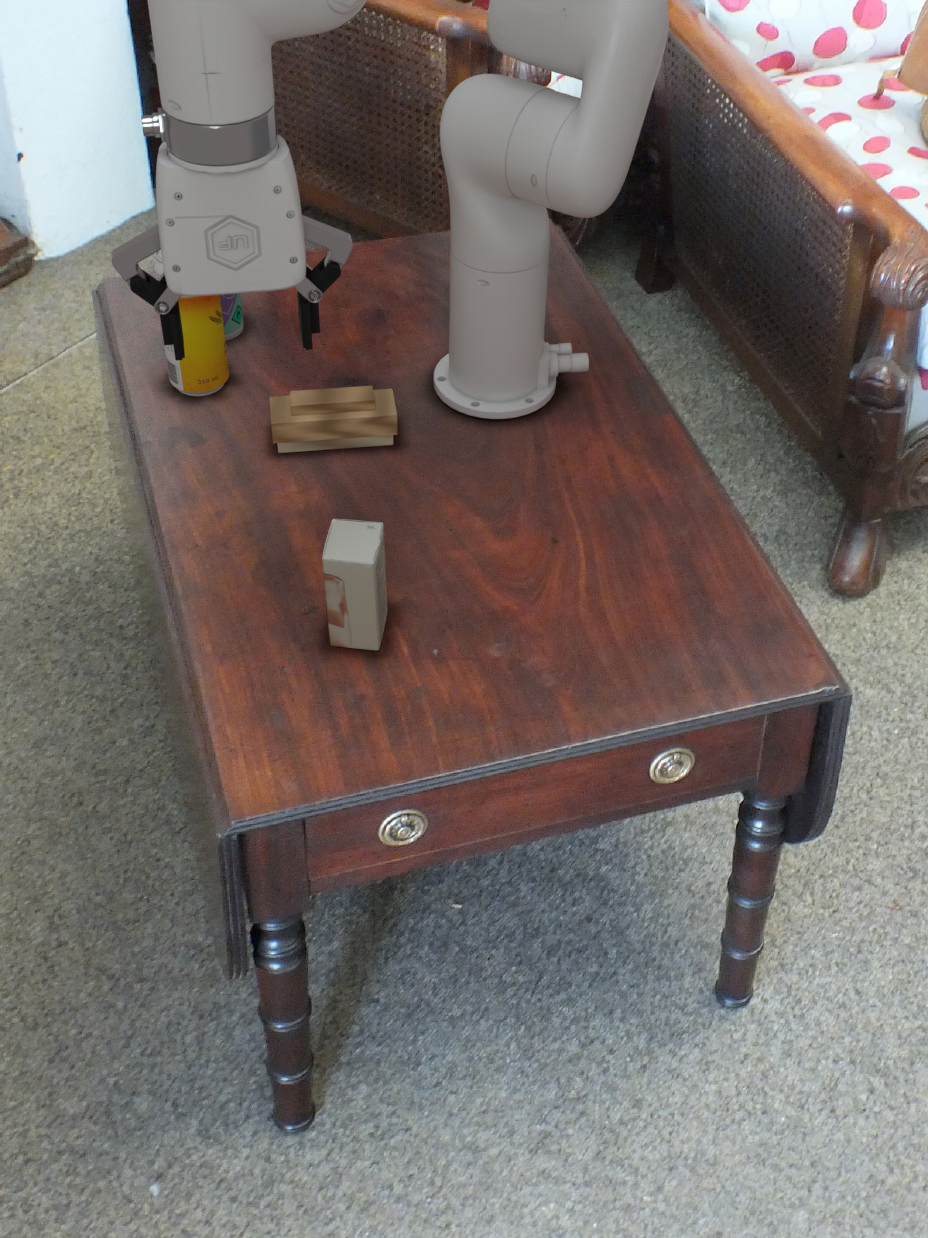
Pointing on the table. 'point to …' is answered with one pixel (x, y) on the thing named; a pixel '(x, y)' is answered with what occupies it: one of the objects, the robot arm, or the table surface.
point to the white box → (355, 583)
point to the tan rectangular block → (333, 419)
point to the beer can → (197, 343)
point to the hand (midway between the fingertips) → (243, 345)
